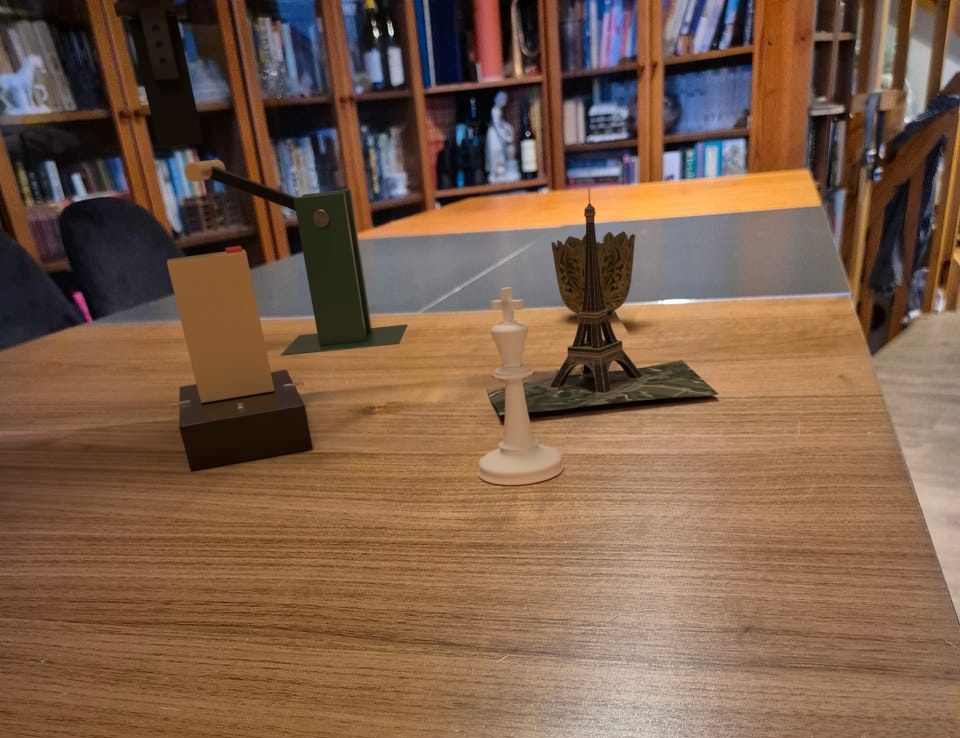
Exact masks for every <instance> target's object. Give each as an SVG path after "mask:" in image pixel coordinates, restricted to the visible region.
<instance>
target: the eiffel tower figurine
mask: <svg viewBox="0 0 960 738" xmlns="http://www.w3.org/2000/svg"><path fill="white" fill-rule="evenodd" d="M587 190H588V203H587V206H586V207H585V208H584V210H583V211H584V213H583V216H584V217H585V235H586V249H585V281H584V295H583V304H582V311H581V312H579V314H580V321H578V325H577V329H576V333H575V336H574V339H573V342H572V345H569V346H567V347H566V349H567V356H566V357H565V359H564V361H563V363H562V364H561V366H560V368H559V370H558V371H557V374H556V375H555V376H554V377H550V378H543V379H538V380H533V381H527V382H523V388H524V394H525V400H526V405H527V410H528V413H538V412H548V411H549V412H550V411H559V410H569V409H576V408H585V407H592V406H600V405H610V404H617V403H627V402H637V401H647V400H658V399H659V400H661V399H672V398H692V397H693V398H695V397H706V396H718V395H720V394H719V392H717V391H716V389H714V388H713V387H712V386H711V385H710V384H708V382H706V381H705V380H704V379H703V378H702V377H701V376H700V375H699V374H697V372H695V371H694V370H693V369H692V368H691V367H690V366H689V365H688V364H687V363H686V362H684V361H683V360H682V359H680V360H674V361H671V362H665V363H660V364H655V365H649V366H645V367H644V366H643V367H638V368H637V366H636V365H635V363H634V362H633V361H632V360H631V358H630V357H629V356H628V354H627V353H626V351H625V350H624V349H623V340H618V339H617V337H616V334H615V332H614V330H613V326H612V324H611V321H610V319H609V318H608V315H607V311H608V309H606V308H605V304H604V299H603V294H602V287H601V281H600V272H599V263H598V254H597V244H596V243H597V236H596V235H597V234H596V224H595V216H596V215H597V213H596V208H595V207H594V206H593V205H592V203H591V196H590V194H591V193H590V187H588V189H587ZM579 314H578V315H579ZM613 362H615V363H617V364H618V365H619V366H620V367H621V369H622V370H610V367H611V364H612V363H613ZM579 365H583V366H582V373H580V374H579V373H578V374H571V373H572V371H573V370H574V369H575V368H576V367H577V366H579ZM570 374H571V375H570ZM486 392H487V395H488V397H489V400H490V402H491V403H492V404H493V406H494V407H495V408H496V410H497V413H498V415H499V417H500V416H505V386H500V387H494V388H488V389H486Z"/></svg>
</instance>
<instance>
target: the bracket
mask: <svg viewBox="0 0 960 738" xmlns="http://www.w3.org/2000/svg"><path fill="white" fill-rule="evenodd" d="M294 197H295V198H294V205H295V210H296V211H295V215H296V222H297V227H298V232H299V237H300V244H301V249H302V255H303V260H304V266H305V271H306V278H307V284H308V290H309V295H310V300H311V305H312V311H313V317H314V322H315V328H316V333H308V334H299V335H297V336H296V338H295V339H294V340H293V341H292V342H291V343H290V344H289V345H288V346H287V347H286V348H285V349H284V350H283V352H282V353H281V354H280V356H281V357H283V356H293V355H303V354H313V353H322V352H323V353H324V352H331V351H332V352H333V351H342V350H352V349H363V348H372V347H373V348H375V347H382V346H394V345H400V343H401V341H402V339H403V337H404V335H405V332H406V330H407V328H408V324H396V325H387V326H378V327H373V326H372V321H371V314H370V307H369V299H368V294H367V288H366V281H365V274H364V267H363V261H362V254H361V253H362V252H361V247H360V241H359V234H358V228H357V227H358V226H357V222H356V214H355V213H356V212H355V207H354V200H353V195H352V189H350V188H349V189H340V190H332V191H323V192H314V193H313V192H312V193H304V194H302V195H301V196H294Z"/></svg>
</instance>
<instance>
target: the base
mask: <svg viewBox="0 0 960 738" xmlns="http://www.w3.org/2000/svg"><path fill="white" fill-rule="evenodd" d="M271 375H272V380H273V385H274V391H273V392H267V393H260V394H254V395H248V396H242V397H236V398H230V399H224V400H218V401H212V402H206V403H201V400H200V396H199V392H198V388H197V384H196V383H194V384H189V385H182V386H179V390H178V391H179V392H178V394H179V396H178V400H179V401H174V402H169V404H168V405H169V407H176V406H178V407H179V408H178V428H179V432H180V436H181V440H182V443H183V447H184V452H185V454H186V455H185V456H186V459H187V462H188V466H189V470H190V471H191V472H193V471H197V470H204V469H209V468H215V467H216V468H217V467H222V466H227V465H233V464H238V463H243V462H249V461H254V460H255V461H256V460H261V459H265V458H271V457H272V458H273V457H277V456H278V457H279V456H284V455H288V454H294V453H301V452H305V451H312V450H313V449H314V445H313V441H312V436H311V429H310V426H309V420H308V414H307V410H306V405H305V402H304V401H303V399H302V397H301V395H300V393H299V391H298V389H297V388H296V387H297V386H304V385H305V384H304V381H297V382H293V379H292V378H291V375H290V373H289V372H288V370H287V369H282V370H275V371H271Z"/></svg>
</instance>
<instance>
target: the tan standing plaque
mask: <svg viewBox="0 0 960 738" xmlns="http://www.w3.org/2000/svg"><path fill="white" fill-rule="evenodd" d="M224 249H225V251H219V252H211V253H205V254H197V255H189V256H183V257H175V258H167V261H166V265H167V269H168V274H169V278H170V282H171V286H172V289H173V295H174V297H175V303H176V305H177V310H178V314H179V318H180V322H181V327H182V330H183V334H184V339H185V342H186V346H187V351H188V355H189V360H190V363H191V367H192V372H193V376H194V380H195V384H197V388H198V392H199V396H200V400H201V403H206V402H212V401H218V400H224V399H230V398H236V397H242V396H248V395H254V394H260V393H267V392H273V391H274V385H273V380H272V375H271V372H272V371H271V366H270V361H269V357H268V352H267V346H266V343H265V337H264V333H263V327H262V323H261V318H260V313H259V308H258V304H257V303H258V302H257V298H256V293H255V288H254V282H253V279H252V278H253V277H252V273H251V268H250V264H249V259H248V256H247V251H246V250H245V249H243V247H242V246H241V245H235V246H227V247H225V248H224Z"/></svg>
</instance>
